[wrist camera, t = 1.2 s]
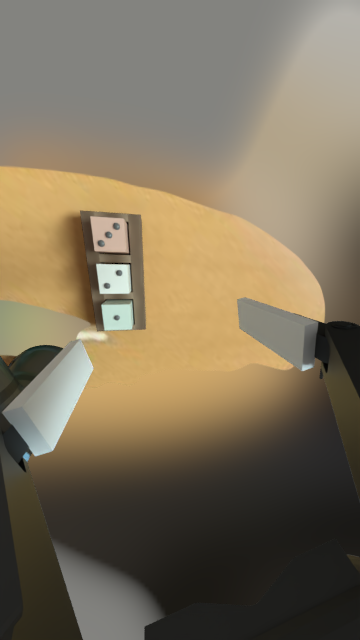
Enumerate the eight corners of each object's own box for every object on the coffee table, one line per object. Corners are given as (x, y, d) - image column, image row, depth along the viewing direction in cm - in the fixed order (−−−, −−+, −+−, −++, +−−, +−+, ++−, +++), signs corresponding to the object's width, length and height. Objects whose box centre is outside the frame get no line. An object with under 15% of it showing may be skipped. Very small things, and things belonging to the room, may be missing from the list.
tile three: (102, 252, 32) (94, 251, 27) (99, 223, 31) (89, 215, 26) (129, 253, 33) (126, 252, 28) (127, 225, 32) (123, 218, 27)
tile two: (106, 289, 35) (99, 293, 30) (103, 263, 33) (95, 264, 28) (131, 289, 35) (129, 293, 31) (130, 264, 34) (127, 264, 29)
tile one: (110, 321, 37) (104, 330, 32) (107, 299, 35) (101, 305, 30) (133, 321, 38) (131, 329, 33) (132, 299, 36) (129, 304, 31)
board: (101, 324, 39) (96, 331, 36) (87, 216, 32) (79, 210, 29) (145, 323, 41) (145, 329, 37) (141, 220, 34) (140, 214, 30)
